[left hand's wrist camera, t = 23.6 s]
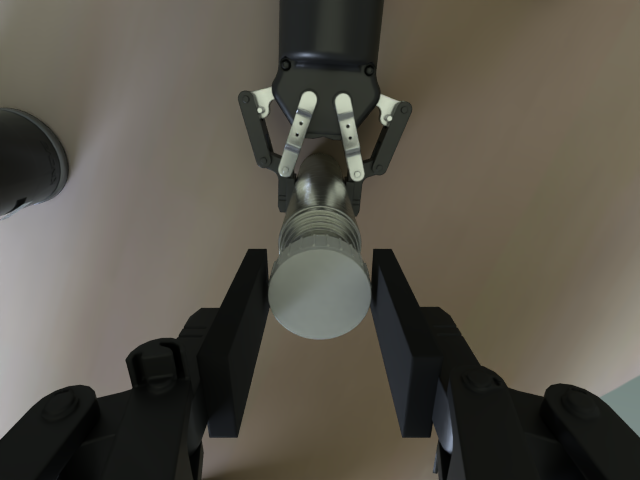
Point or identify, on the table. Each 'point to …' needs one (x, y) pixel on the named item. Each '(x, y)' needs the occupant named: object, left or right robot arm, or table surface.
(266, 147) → the right robot arm
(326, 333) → the cap
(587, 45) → the table surface
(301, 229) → the bottle
